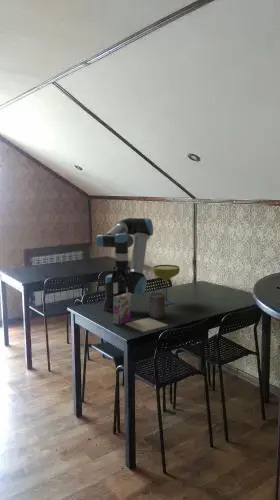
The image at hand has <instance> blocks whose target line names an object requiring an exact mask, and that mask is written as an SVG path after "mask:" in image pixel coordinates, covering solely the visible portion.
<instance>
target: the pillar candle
mask: <svg viewBox="0 0 280 500" xmlns="http://www.w3.org/2000/svg"><path fill="white" fill-rule="evenodd" d="M148 296H149V298H148V300H149V304H148V305H149V306H148V307H149V318H151V319H162V318H164V317H166V305H165V298H166V294H165V293H160V292H153V293H150V294H148Z"/></svg>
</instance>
